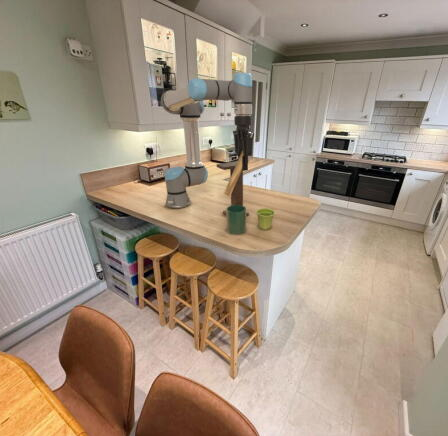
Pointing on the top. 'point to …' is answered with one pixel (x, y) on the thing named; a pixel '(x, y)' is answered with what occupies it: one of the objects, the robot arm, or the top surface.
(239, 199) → the brown wooden stand
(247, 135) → the robot arm
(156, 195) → the top surface
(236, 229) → the utensil pot
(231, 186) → the stick
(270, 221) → the plant pot
